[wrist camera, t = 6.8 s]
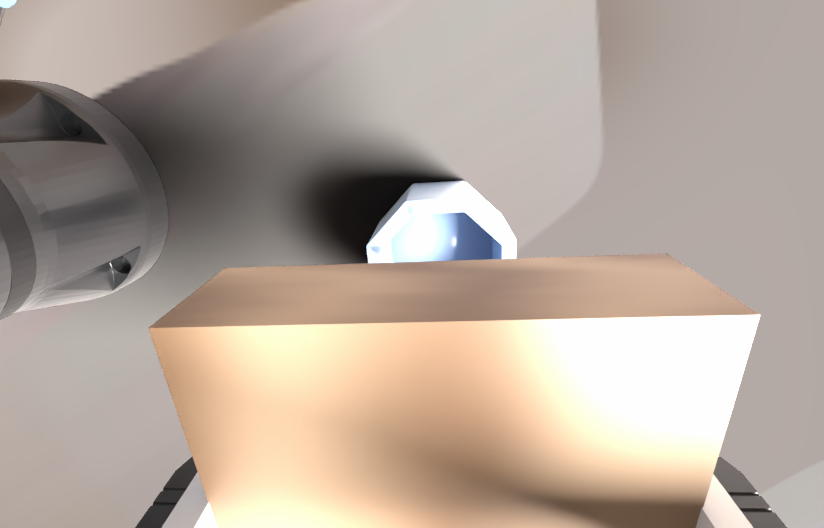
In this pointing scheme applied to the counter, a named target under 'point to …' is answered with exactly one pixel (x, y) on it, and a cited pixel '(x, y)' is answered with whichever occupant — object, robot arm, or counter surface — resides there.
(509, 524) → the lid board
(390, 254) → the bowl
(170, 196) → the counter surface
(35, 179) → the robot arm
